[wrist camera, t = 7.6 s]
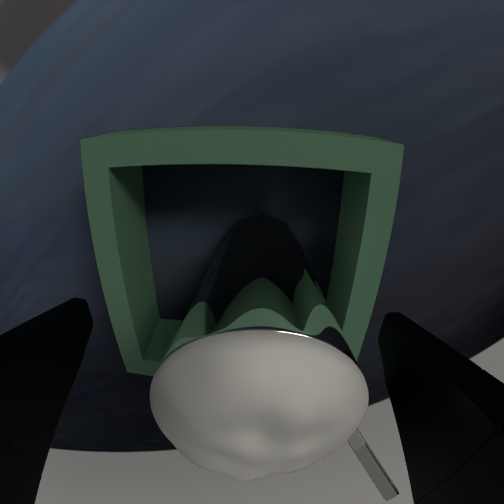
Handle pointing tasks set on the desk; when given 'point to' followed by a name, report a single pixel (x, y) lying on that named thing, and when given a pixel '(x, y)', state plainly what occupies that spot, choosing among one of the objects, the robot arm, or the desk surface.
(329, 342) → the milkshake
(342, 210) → the green square frame
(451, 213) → the desk surface
